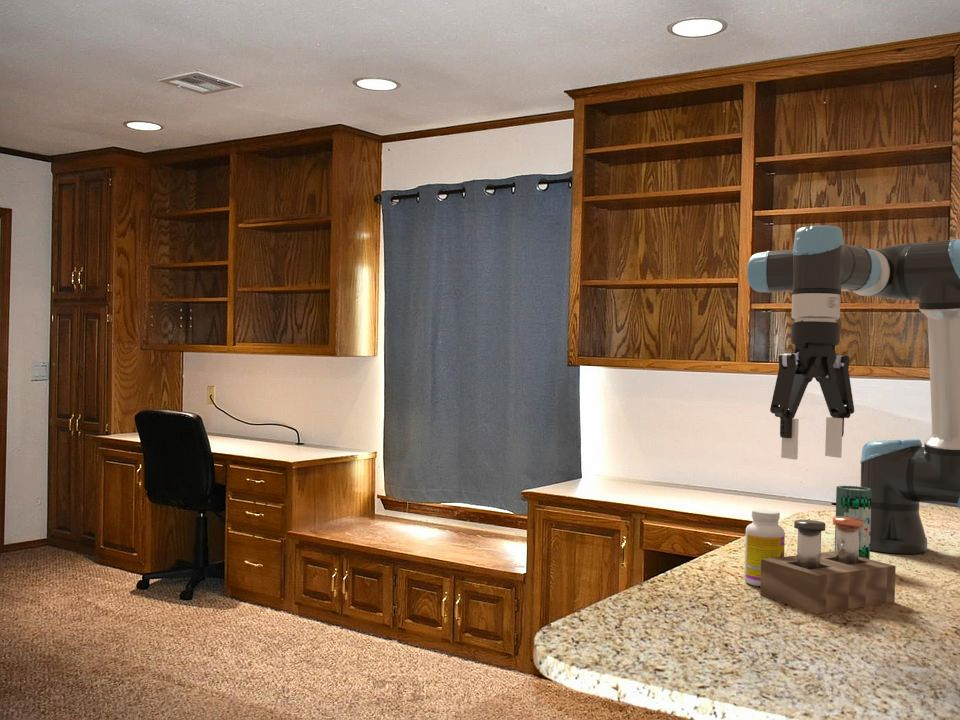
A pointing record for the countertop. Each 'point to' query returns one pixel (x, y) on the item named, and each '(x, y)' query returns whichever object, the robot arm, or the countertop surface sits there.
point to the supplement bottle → (762, 542)
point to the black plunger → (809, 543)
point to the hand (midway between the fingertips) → (811, 457)
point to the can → (856, 512)
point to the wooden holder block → (828, 583)
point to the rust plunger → (847, 539)
